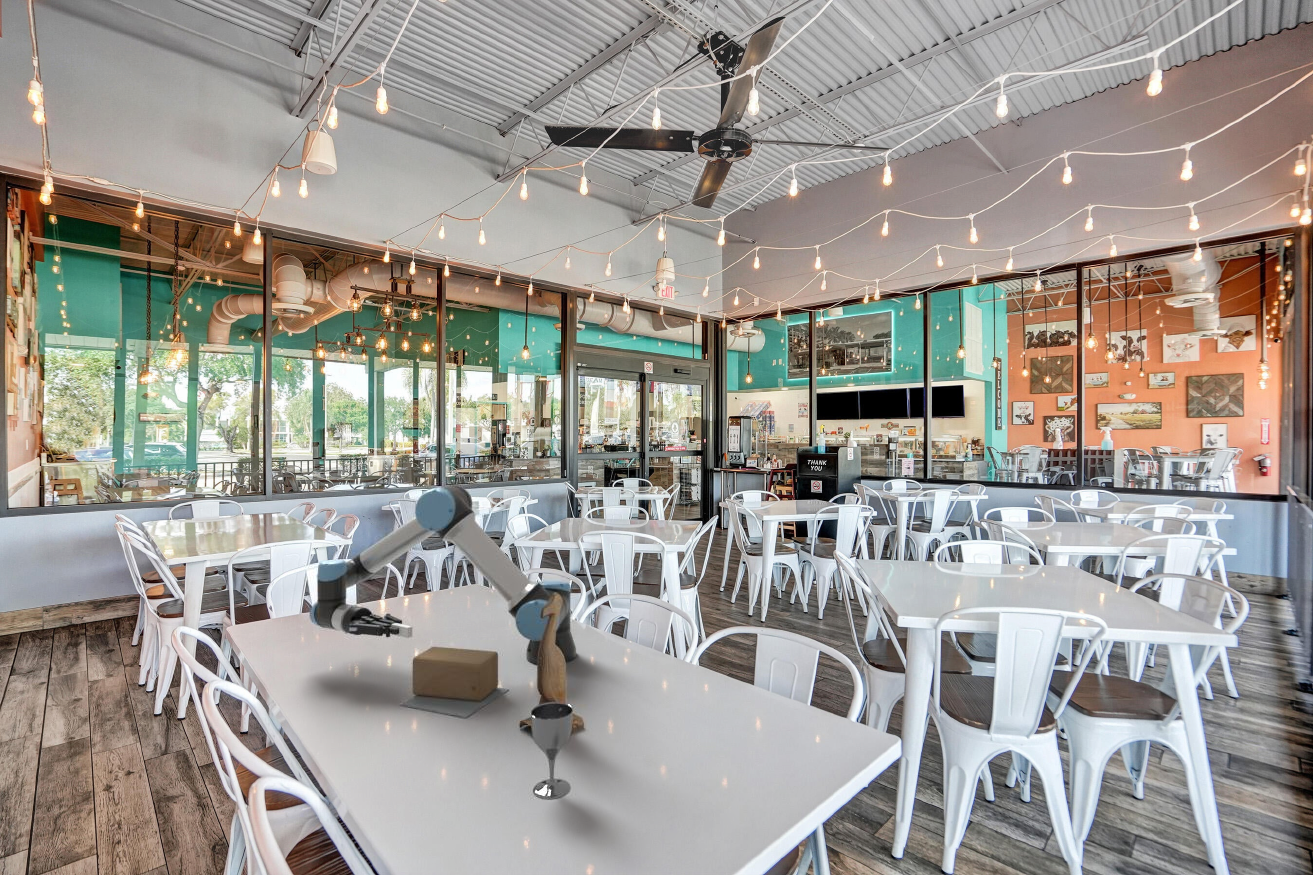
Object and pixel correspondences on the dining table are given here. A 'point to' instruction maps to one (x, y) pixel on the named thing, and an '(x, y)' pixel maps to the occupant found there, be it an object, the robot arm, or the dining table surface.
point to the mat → (452, 703)
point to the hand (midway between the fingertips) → (409, 632)
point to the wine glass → (551, 743)
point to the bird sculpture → (552, 663)
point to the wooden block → (455, 673)
